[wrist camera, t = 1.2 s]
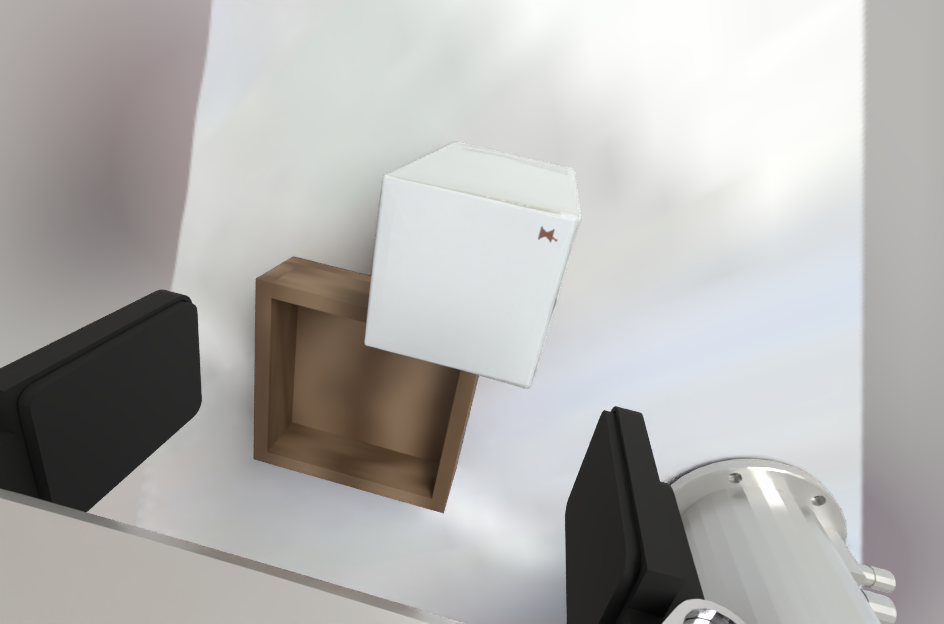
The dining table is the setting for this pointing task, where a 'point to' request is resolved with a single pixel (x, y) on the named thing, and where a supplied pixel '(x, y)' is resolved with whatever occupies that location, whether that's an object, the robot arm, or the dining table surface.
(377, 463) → the wooden shadow box
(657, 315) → the dining table surface
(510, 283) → the supplement box
